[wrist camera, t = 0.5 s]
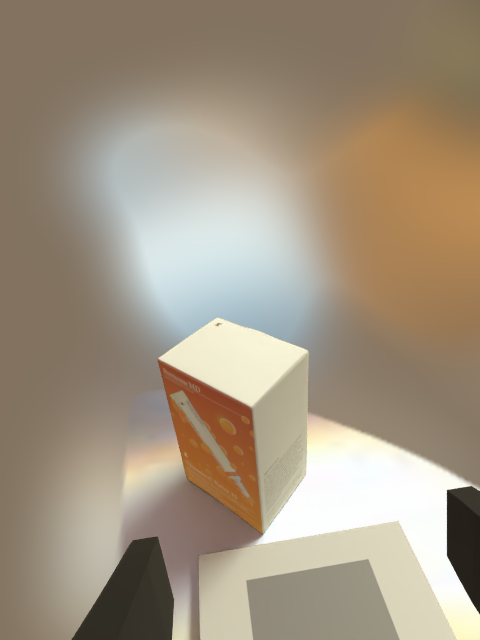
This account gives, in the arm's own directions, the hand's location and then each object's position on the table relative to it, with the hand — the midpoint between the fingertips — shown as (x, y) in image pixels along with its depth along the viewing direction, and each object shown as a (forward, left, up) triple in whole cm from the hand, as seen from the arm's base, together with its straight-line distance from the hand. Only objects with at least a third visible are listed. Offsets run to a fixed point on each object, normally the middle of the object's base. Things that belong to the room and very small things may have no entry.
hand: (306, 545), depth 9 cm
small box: (+15, +1, -18) cm, 23 cm away
